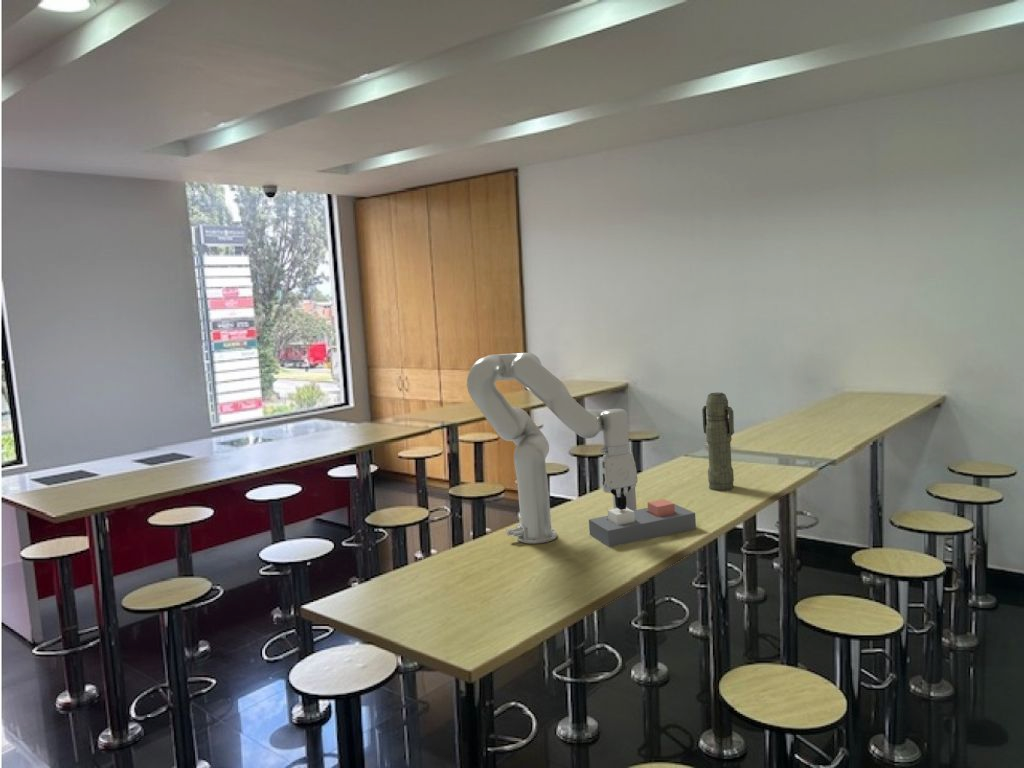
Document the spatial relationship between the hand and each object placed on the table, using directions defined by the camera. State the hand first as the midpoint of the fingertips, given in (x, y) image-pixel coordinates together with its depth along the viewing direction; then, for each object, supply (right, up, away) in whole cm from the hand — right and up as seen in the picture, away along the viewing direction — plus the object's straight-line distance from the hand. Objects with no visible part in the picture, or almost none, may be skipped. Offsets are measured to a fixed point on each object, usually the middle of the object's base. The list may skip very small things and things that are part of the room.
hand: (621, 508), depth 220 cm
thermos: (+44, 0, +44) cm, 62 cm away
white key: (0, -5, +1) cm, 5 cm away
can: (+4, -6, +20) cm, 21 cm away
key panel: (+7, -8, +3) cm, 11 cm away
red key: (+13, -3, +5) cm, 15 cm away
